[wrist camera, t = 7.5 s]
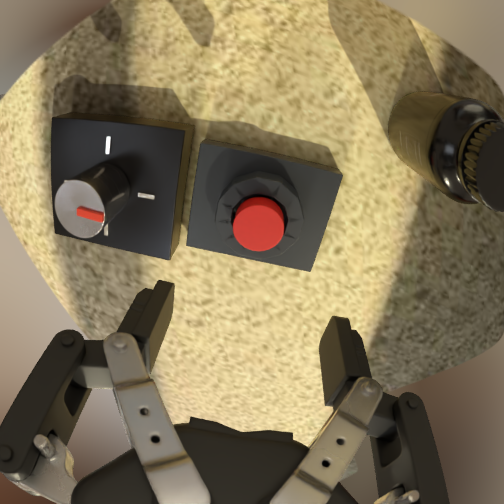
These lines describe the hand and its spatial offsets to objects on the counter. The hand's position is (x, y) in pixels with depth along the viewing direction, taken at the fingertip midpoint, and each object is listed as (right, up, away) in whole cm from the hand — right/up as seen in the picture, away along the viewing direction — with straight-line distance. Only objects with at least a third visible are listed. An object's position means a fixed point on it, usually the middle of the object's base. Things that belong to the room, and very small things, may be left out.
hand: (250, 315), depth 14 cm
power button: (+1, +5, +9) cm, 11 cm away
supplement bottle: (+14, +13, +8) cm, 21 cm away
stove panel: (-11, +9, +12) cm, 19 cm away
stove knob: (-12, +8, +9) cm, 17 cm away
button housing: (+1, +7, +12) cm, 14 cm away
